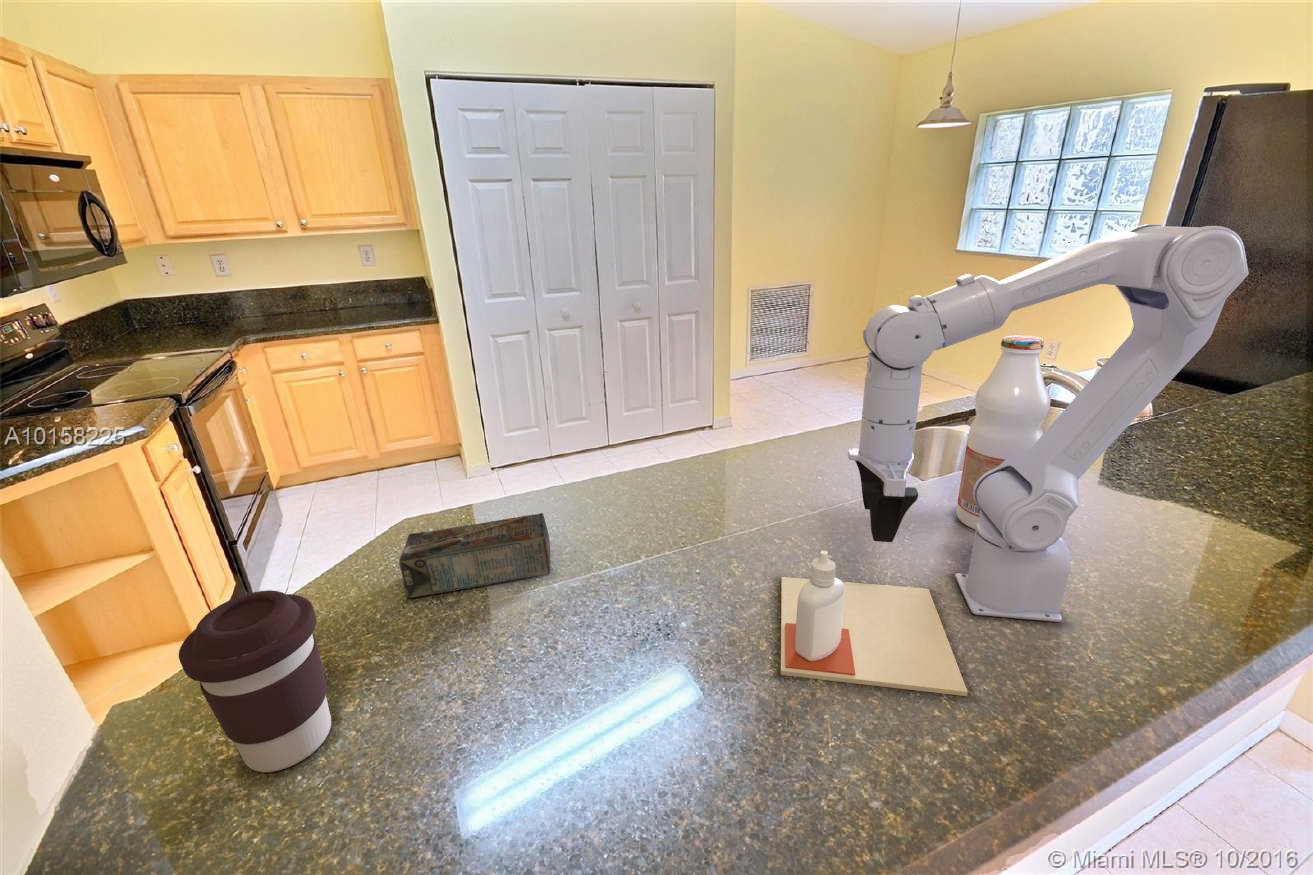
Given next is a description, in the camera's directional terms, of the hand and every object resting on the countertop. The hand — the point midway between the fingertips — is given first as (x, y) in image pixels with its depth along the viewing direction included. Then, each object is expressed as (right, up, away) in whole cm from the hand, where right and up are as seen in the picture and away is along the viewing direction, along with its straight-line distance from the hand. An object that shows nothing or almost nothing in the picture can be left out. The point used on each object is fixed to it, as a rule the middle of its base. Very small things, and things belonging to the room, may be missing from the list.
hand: (877, 523), depth 69 cm
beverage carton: (-51, -9, +12) cm, 53 cm away
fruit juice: (+24, -3, +19) cm, 31 cm away
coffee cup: (-62, -19, -14) cm, 66 cm away
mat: (-3, -12, -3) cm, 13 cm away
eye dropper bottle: (-9, -13, -6) cm, 17 cm away
